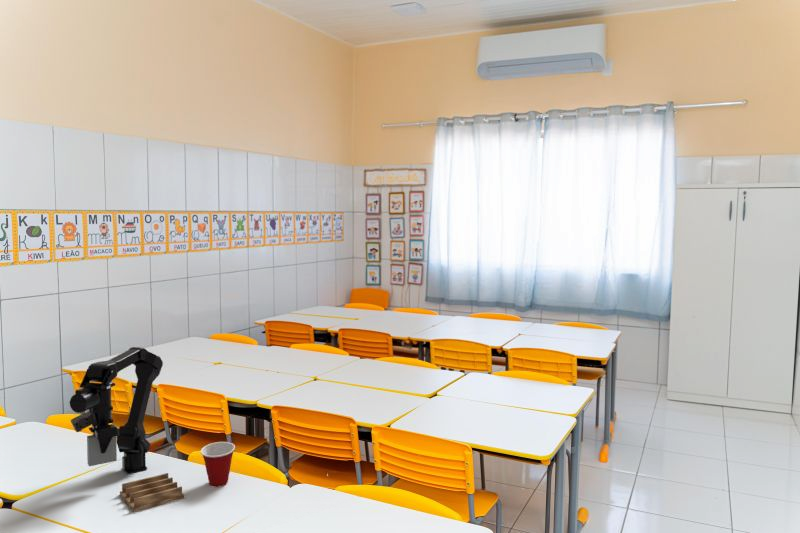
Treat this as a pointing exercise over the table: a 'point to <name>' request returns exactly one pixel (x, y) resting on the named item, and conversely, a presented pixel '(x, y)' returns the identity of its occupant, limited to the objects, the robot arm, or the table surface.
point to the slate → (95, 453)
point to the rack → (150, 492)
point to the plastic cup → (218, 462)
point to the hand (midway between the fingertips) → (102, 451)
